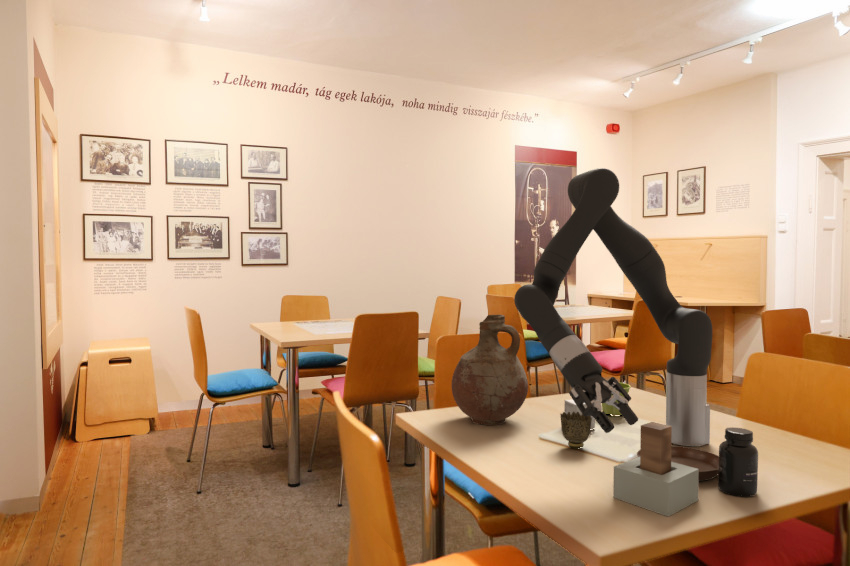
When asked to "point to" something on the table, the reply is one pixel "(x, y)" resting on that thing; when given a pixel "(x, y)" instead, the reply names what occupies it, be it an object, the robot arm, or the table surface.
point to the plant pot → (610, 408)
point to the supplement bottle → (738, 463)
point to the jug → (490, 376)
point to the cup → (575, 428)
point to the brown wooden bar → (655, 448)
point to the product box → (575, 409)
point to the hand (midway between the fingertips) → (623, 426)
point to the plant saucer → (695, 460)
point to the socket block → (656, 487)
